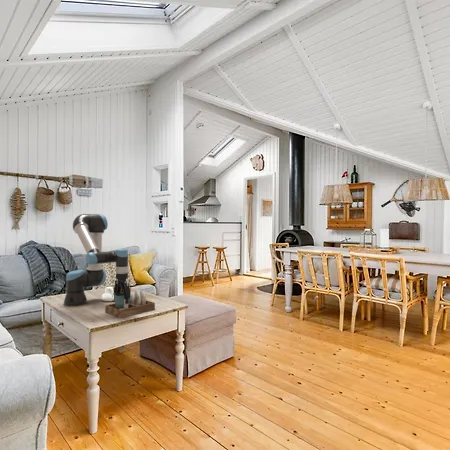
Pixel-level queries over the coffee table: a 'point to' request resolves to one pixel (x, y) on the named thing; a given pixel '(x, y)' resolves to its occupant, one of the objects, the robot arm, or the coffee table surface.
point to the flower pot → (120, 300)
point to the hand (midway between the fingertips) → (121, 307)
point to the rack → (132, 306)
